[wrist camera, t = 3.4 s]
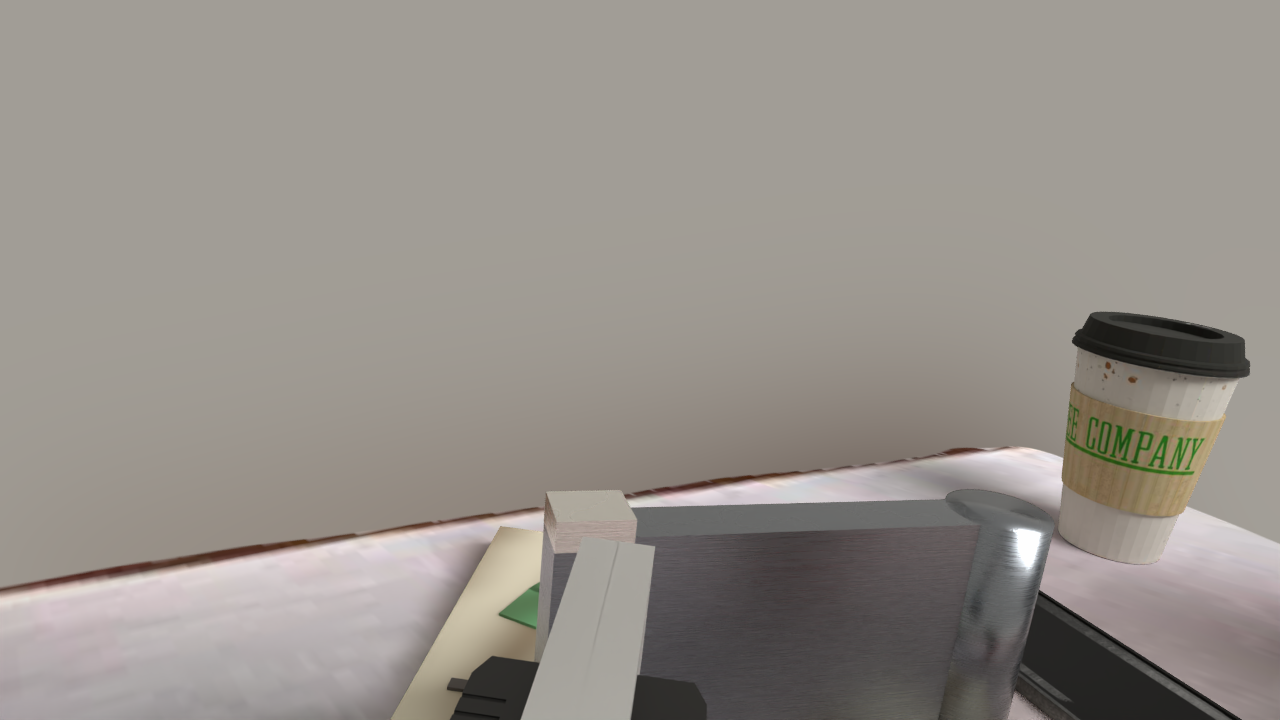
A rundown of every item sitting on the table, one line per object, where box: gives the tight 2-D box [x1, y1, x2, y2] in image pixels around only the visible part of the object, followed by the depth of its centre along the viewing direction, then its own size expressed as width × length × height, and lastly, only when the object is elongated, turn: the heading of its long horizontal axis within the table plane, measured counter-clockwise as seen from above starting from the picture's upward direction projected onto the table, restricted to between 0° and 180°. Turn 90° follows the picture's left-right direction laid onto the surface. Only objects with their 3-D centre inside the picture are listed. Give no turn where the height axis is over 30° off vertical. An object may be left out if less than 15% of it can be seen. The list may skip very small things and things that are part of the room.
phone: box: [1015, 590, 1242, 720], centre depth 40 cm, size 8×1×15 cm
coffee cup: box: [1058, 312, 1250, 564], centre depth 54 cm, size 10×10×15 cm
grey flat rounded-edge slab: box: [534, 489, 1055, 720], centre depth 29 cm, size 18×4×11 cm, turn 105°
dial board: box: [390, 526, 543, 720], centre depth 37 cm, size 24×20×2 cm
